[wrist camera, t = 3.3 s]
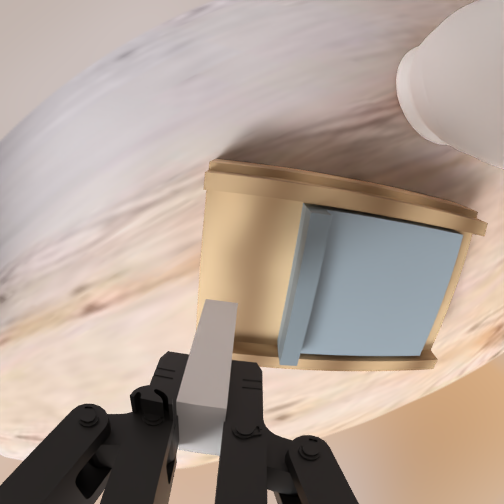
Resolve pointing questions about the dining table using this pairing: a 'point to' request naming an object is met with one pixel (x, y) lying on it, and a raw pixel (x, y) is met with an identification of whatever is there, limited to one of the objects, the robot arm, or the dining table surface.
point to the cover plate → (364, 284)
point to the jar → (459, 82)
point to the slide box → (283, 248)
